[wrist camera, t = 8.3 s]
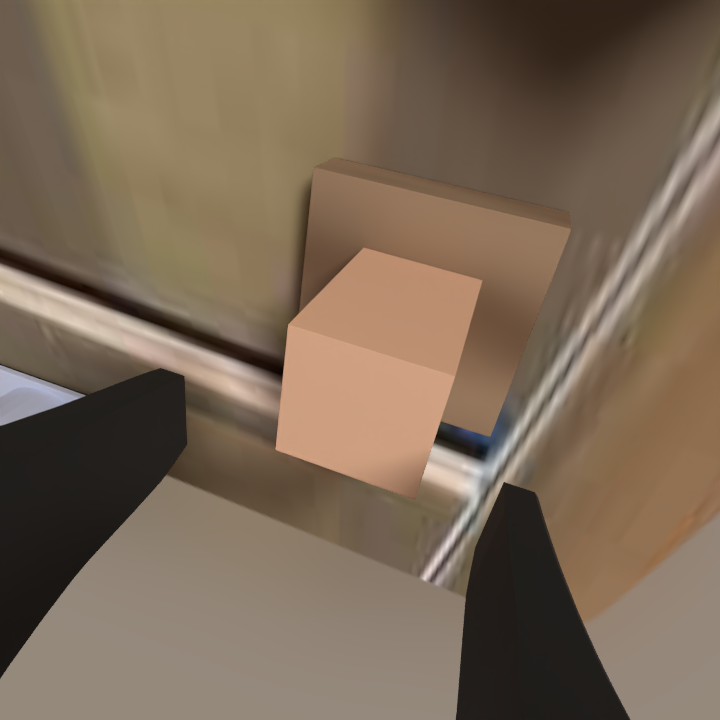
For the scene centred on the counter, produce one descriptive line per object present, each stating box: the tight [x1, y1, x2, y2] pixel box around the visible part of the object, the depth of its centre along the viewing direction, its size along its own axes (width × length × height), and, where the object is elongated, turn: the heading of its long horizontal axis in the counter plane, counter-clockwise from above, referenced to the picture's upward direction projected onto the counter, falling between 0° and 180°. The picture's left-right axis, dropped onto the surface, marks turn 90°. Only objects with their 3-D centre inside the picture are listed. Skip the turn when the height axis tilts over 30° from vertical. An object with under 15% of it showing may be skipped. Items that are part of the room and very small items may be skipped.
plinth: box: [299, 158, 572, 437], centre depth 18 cm, size 8×8×2 cm
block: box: [276, 248, 482, 500], centre depth 15 cm, size 4×4×6 cm
